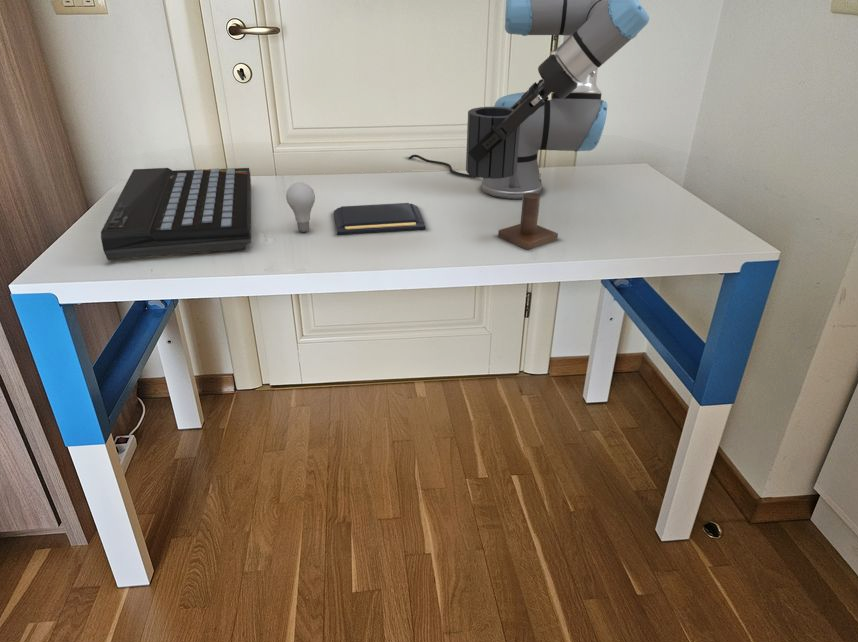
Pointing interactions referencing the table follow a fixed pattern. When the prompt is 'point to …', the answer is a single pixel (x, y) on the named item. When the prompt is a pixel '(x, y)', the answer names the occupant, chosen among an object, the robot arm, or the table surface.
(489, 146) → the robot arm
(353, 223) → the wallet
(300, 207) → the lightbulb
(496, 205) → the table surface
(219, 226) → the computer keyboard
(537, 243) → the peg
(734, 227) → the table surface
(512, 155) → the ribbed pencil cup
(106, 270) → the table surface
